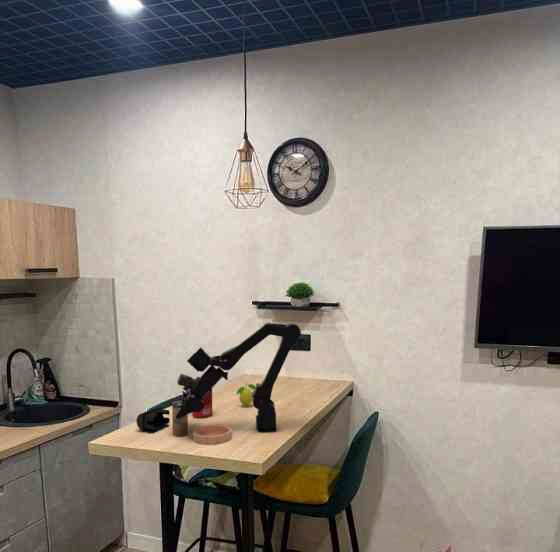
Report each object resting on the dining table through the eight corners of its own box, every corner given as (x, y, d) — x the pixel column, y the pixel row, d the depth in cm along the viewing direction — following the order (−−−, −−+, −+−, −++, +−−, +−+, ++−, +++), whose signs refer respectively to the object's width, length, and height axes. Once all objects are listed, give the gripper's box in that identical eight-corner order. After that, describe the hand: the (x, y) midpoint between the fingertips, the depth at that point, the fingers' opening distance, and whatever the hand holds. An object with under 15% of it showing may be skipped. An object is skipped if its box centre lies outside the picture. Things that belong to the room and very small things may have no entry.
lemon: (257, 405, 200) (256, 381, 200) (250, 409, 195) (250, 384, 195) (243, 403, 203) (242, 380, 203) (236, 407, 197) (235, 383, 197)
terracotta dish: (230, 431, 167) (230, 423, 167) (232, 443, 155) (232, 435, 155) (194, 433, 166) (194, 425, 166) (192, 445, 153) (192, 438, 153)
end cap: (155, 423, 177) (154, 405, 177) (170, 426, 174) (170, 407, 174) (136, 431, 168) (135, 412, 168) (151, 434, 165) (151, 414, 165)
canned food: (215, 413, 190) (214, 385, 190) (208, 419, 182) (208, 390, 182) (196, 412, 191) (196, 384, 191) (189, 418, 183) (189, 389, 183)
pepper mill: (188, 431, 168) (188, 400, 167) (187, 436, 162) (187, 404, 162) (173, 432, 167) (172, 400, 167) (172, 437, 162) (171, 404, 162)
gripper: (188, 361, 175) (157, 393, 172) (193, 370, 157) (159, 407, 154) (210, 381, 177) (180, 413, 174) (218, 393, 159) (184, 429, 156)
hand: (176, 415), depth 164 cm, fingers closed on pepper mill, 5 cm apart
